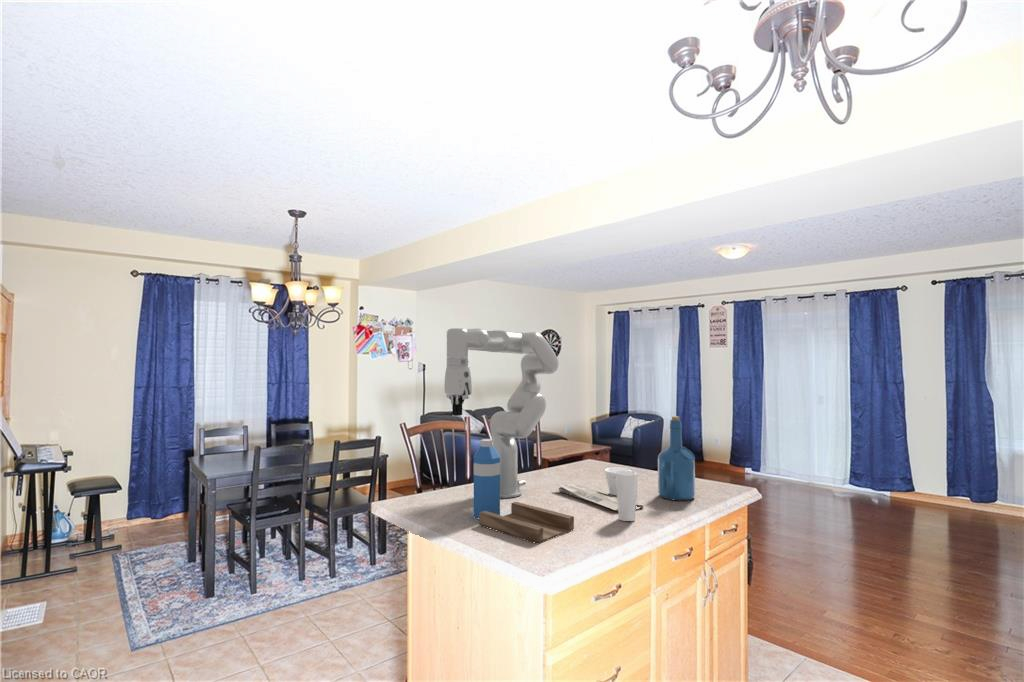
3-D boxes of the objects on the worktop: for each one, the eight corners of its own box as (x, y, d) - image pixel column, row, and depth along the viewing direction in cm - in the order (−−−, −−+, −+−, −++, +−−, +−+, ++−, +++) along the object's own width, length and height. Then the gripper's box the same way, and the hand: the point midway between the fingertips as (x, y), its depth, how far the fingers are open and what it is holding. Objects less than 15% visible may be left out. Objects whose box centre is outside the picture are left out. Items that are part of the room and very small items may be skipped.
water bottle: (495, 521, 167) (494, 442, 168) (468, 518, 170) (468, 441, 171) (504, 513, 176) (504, 438, 177) (479, 510, 179) (479, 437, 180)
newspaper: (643, 510, 180) (643, 500, 180) (617, 516, 173) (617, 505, 174) (576, 489, 210) (576, 480, 210) (552, 493, 203) (552, 484, 203)
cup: (603, 496, 196) (603, 472, 196) (606, 490, 206) (606, 466, 206) (630, 498, 193) (630, 473, 193) (632, 492, 203) (632, 468, 203)
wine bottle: (651, 496, 196) (650, 416, 197) (670, 490, 205) (669, 413, 206) (684, 504, 186) (683, 419, 187) (703, 497, 195) (701, 416, 196)
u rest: (516, 513, 175) (516, 501, 175) (573, 529, 158) (573, 516, 159) (479, 525, 163) (479, 512, 163) (537, 544, 146) (537, 529, 146)
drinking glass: (629, 515, 173) (629, 469, 173) (642, 521, 166) (641, 474, 167) (612, 517, 170) (611, 471, 171) (623, 524, 164) (623, 475, 164)
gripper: (479, 363, 182) (479, 416, 182) (451, 363, 193) (451, 413, 192) (463, 363, 177) (463, 417, 176) (435, 363, 187) (435, 414, 187)
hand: (457, 415), depth 184 cm, fingers closed
